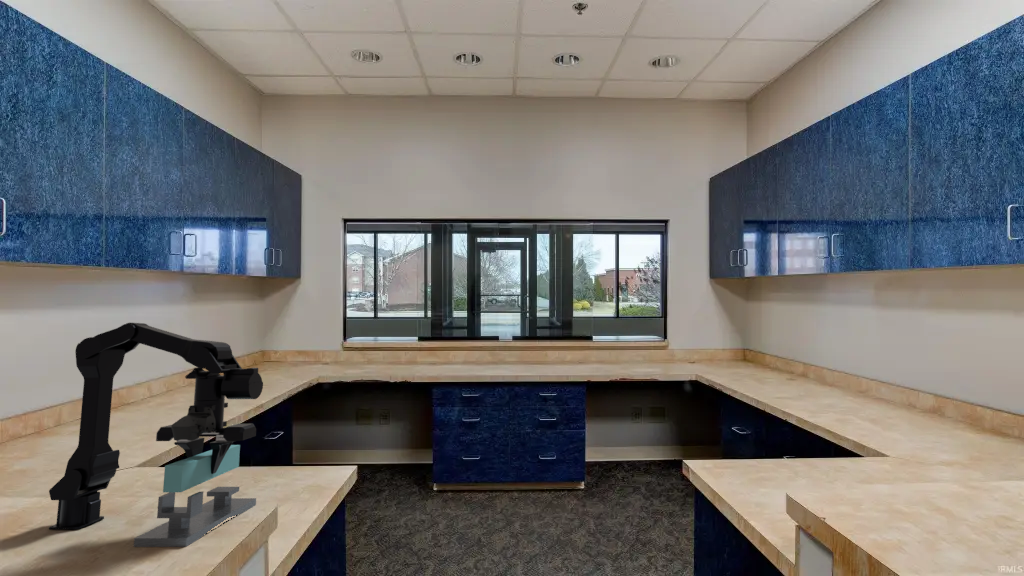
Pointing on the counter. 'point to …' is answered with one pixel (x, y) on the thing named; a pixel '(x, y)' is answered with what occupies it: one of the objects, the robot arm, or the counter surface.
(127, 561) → the counter surface
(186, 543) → the bracket stand
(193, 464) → the teal rail
